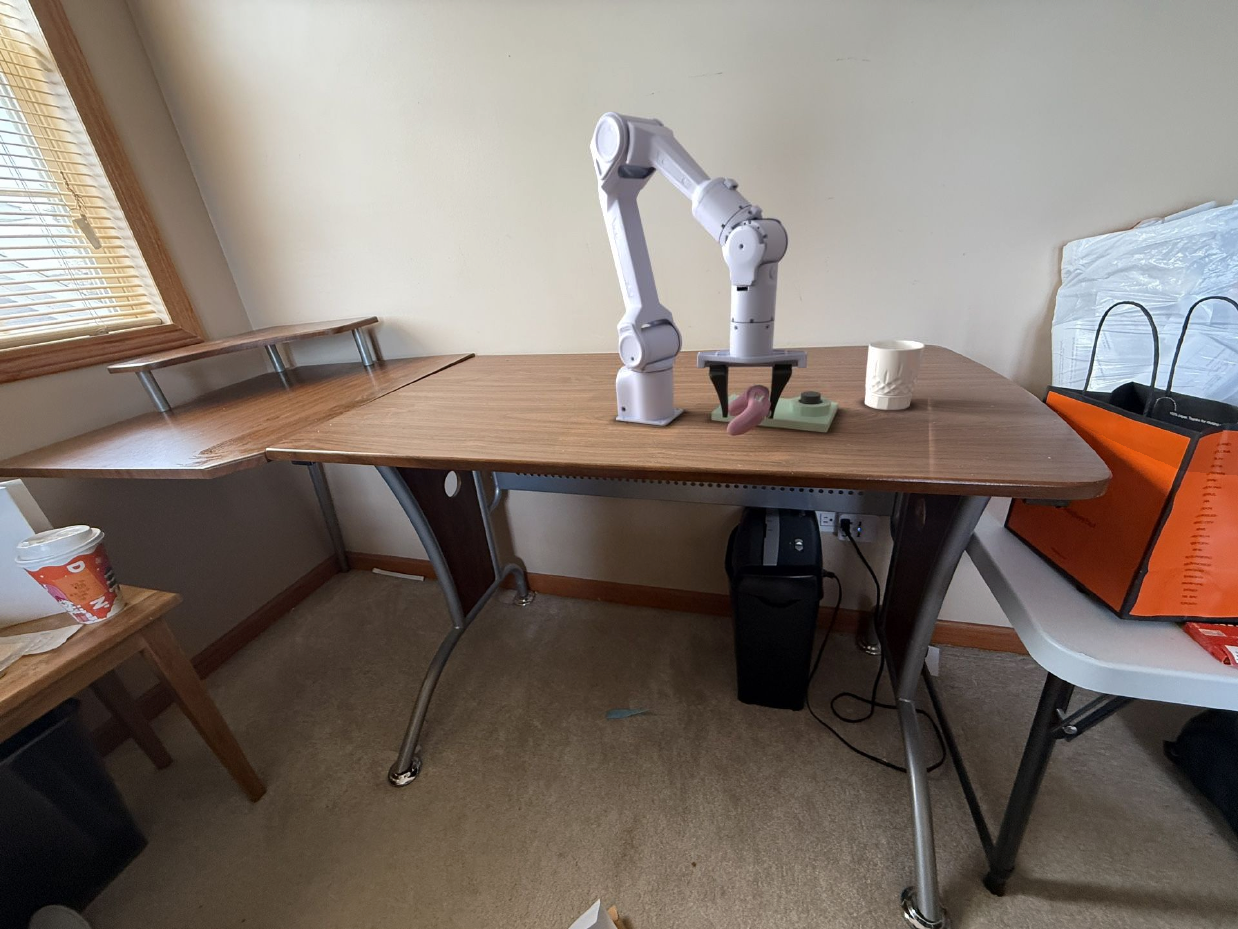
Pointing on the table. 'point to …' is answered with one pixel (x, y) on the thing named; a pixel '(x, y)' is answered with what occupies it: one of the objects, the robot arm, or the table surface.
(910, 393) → the white cup
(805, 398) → the button
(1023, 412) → the table surface
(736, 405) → the video game controller
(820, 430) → the scale
